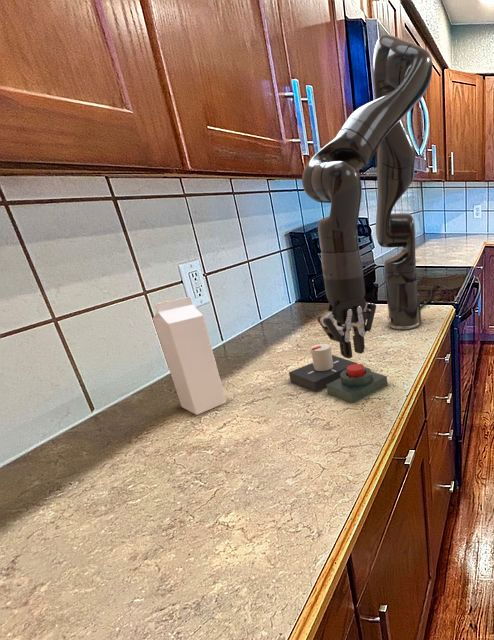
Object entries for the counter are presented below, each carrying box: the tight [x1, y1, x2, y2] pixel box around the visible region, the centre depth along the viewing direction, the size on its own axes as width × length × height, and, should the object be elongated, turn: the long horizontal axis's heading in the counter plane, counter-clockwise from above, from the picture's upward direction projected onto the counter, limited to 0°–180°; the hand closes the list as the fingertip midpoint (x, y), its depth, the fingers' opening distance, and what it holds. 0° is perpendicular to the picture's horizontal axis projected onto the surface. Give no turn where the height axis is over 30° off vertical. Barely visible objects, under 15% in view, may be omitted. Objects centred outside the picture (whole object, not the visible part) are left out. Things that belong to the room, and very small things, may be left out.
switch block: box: [326, 366, 389, 404], centre depth 91 cm, size 10×8×4 cm
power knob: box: [310, 343, 333, 371], centre depth 96 cm, size 4×4×5 cm
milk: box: [152, 296, 227, 416], centre depth 81 cm, size 6×6×22 cm
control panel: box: [288, 354, 358, 393], centre depth 97 cm, size 12×9×3 cm
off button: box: [347, 363, 365, 377], centre depth 90 cm, size 4×4×2 cm
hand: (353, 354), depth 89 cm, fingers closed
